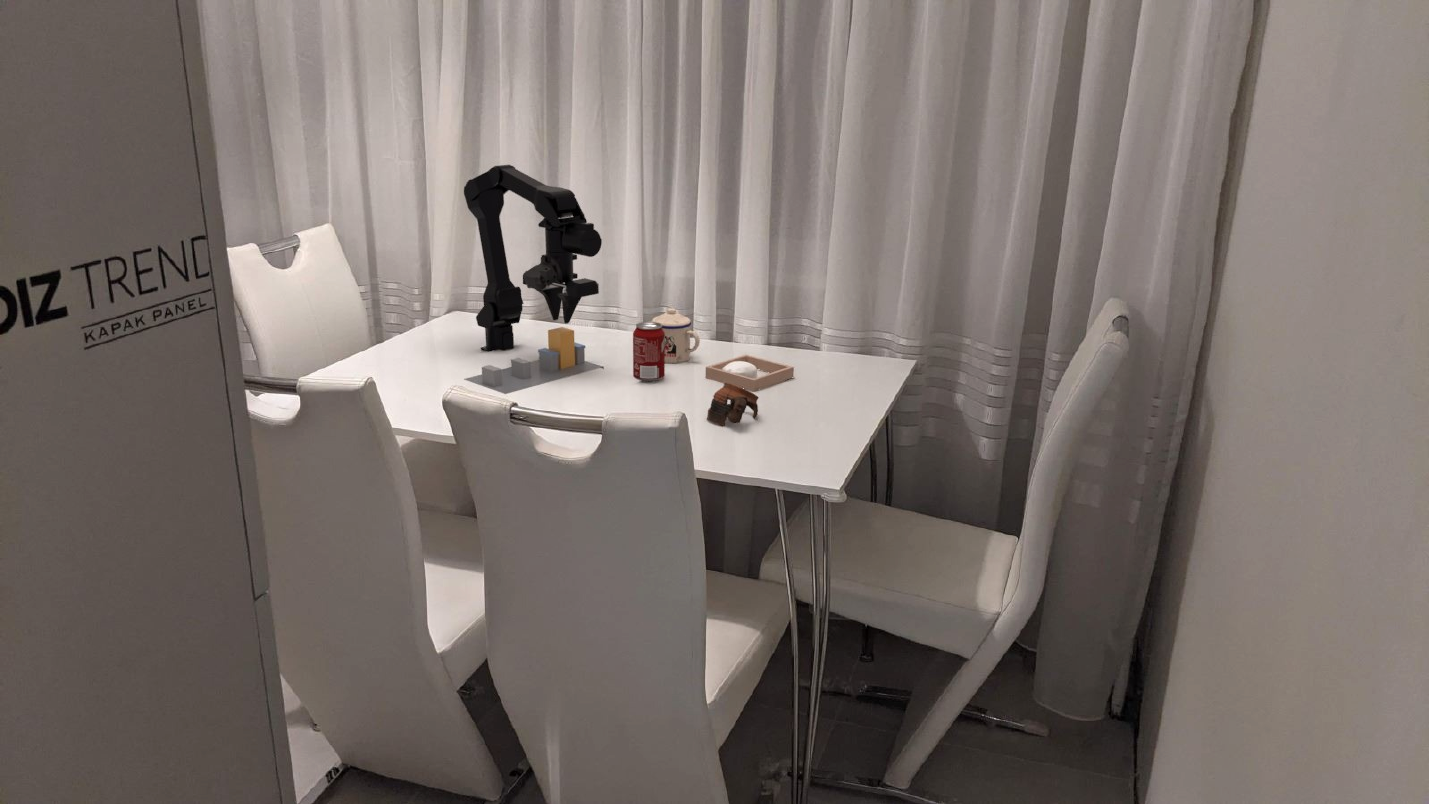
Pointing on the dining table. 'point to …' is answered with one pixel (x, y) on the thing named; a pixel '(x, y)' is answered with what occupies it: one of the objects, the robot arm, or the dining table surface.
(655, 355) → the soda can
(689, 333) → the teacup with lid
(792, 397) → the dining table surface
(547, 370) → the grey board with pegs
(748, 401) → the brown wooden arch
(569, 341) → the orange rectangular block
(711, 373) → the garlic dish
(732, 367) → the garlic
